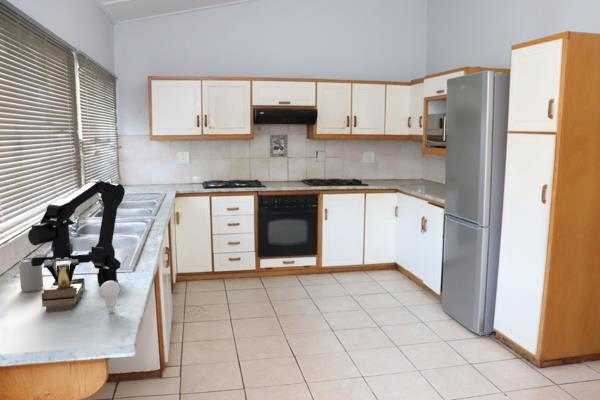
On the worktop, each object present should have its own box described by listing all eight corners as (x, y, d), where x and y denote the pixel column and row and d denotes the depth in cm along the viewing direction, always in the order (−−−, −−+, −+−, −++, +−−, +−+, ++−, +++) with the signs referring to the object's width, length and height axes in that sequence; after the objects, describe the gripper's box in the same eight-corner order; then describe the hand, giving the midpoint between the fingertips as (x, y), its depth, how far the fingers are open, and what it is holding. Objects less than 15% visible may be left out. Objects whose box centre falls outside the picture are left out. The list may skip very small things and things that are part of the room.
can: (47, 286, 192) (44, 256, 190) (37, 293, 185) (35, 261, 183) (27, 286, 192) (24, 256, 190) (17, 293, 184) (14, 261, 183)
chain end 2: (85, 288, 190) (84, 277, 189) (78, 303, 174) (77, 291, 174) (56, 290, 187) (55, 279, 186) (46, 306, 172) (45, 293, 171)
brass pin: (72, 290, 180) (70, 263, 178) (70, 294, 176) (68, 266, 174) (59, 291, 179) (57, 264, 177) (57, 295, 175) (55, 267, 173)
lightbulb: (98, 312, 166) (96, 280, 164) (116, 307, 170) (114, 276, 168) (106, 317, 162) (104, 285, 160) (124, 312, 166) (122, 281, 164)
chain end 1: (82, 293, 184) (81, 277, 183) (75, 309, 168) (74, 291, 167) (52, 296, 181) (51, 279, 180) (42, 312, 166) (41, 294, 165)
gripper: (92, 232, 184) (95, 273, 187) (36, 235, 179) (40, 277, 182) (88, 239, 174) (91, 282, 176) (29, 242, 169) (33, 287, 171)
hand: (64, 281), depth 177 cm, fingers closed on brass pin, 4 cm apart
